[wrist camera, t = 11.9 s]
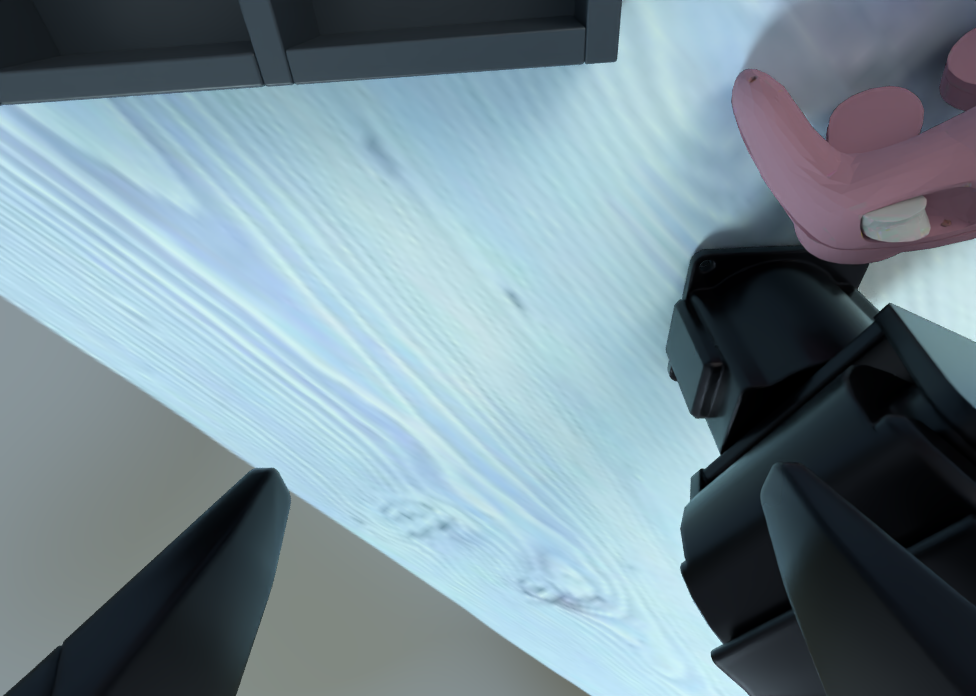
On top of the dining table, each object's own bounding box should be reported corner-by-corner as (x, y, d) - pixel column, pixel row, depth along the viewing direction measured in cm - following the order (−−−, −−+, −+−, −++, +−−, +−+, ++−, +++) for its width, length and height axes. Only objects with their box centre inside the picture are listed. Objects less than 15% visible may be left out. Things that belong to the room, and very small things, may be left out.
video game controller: (730, 164, 18) (832, 318, 15) (711, 73, 15) (841, 249, 11) (1063, -21, 15) (1296, 129, 11) (1147, -204, 11) (1527, -62, 8)
